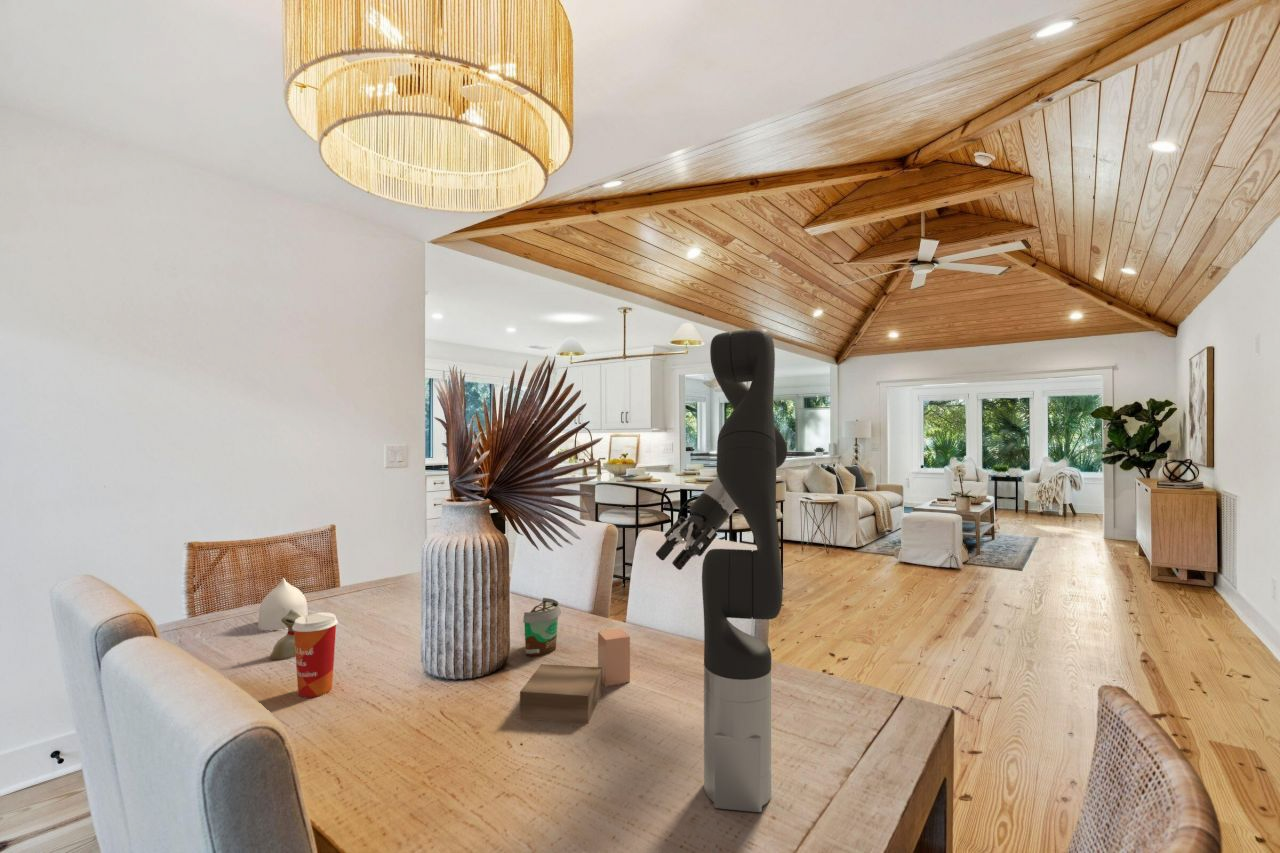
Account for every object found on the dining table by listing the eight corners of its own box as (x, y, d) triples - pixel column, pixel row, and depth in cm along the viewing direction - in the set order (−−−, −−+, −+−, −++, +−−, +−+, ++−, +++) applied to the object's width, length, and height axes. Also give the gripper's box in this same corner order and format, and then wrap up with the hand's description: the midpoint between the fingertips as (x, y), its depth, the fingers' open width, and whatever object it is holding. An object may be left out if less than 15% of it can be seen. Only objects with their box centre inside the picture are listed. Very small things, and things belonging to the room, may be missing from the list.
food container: (550, 661, 128) (550, 614, 128) (523, 659, 129) (523, 613, 129) (568, 641, 140) (568, 598, 140) (543, 639, 141) (543, 596, 141)
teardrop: (292, 631, 147) (292, 582, 147) (247, 631, 147) (247, 582, 147) (316, 617, 158) (316, 571, 158) (275, 616, 158) (275, 571, 158)
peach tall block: (629, 682, 117) (629, 636, 117) (605, 686, 115) (605, 639, 115) (621, 672, 122) (621, 628, 122) (598, 676, 120) (598, 631, 120)
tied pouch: (310, 656, 131) (310, 610, 131) (268, 661, 128) (268, 614, 128) (313, 647, 136) (313, 603, 136) (273, 652, 133) (273, 607, 133)
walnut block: (588, 725, 101) (587, 695, 101) (520, 720, 103) (520, 691, 103) (602, 693, 113) (602, 667, 113) (541, 690, 115) (541, 664, 115)
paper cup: (286, 691, 113) (286, 618, 113) (329, 679, 119) (329, 609, 119) (300, 705, 108) (300, 627, 108) (344, 691, 113) (344, 617, 113)
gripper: (690, 488, 133) (642, 543, 128) (721, 496, 119) (669, 558, 115) (711, 510, 135) (664, 566, 130) (744, 520, 121) (694, 582, 117)
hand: (667, 562), depth 123 cm, fingers open, 8 cm apart
